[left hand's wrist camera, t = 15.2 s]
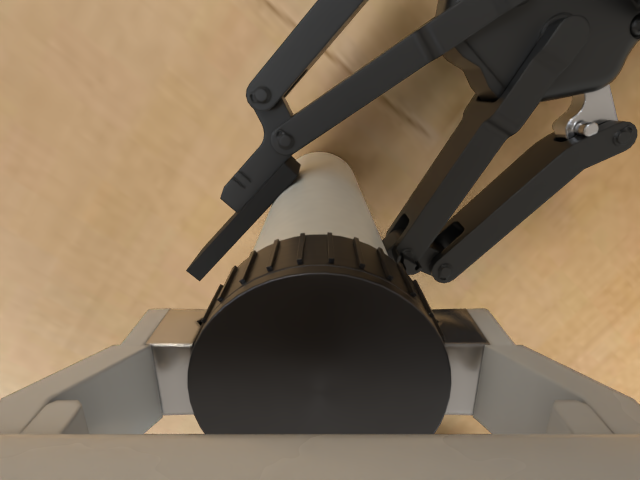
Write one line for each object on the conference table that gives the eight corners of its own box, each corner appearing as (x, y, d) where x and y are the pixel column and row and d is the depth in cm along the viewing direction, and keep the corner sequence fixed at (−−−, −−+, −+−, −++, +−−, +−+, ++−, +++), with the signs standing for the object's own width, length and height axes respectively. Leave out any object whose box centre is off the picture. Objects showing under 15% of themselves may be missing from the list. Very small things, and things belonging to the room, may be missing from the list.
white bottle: (286, 146, 24) (216, 263, 8) (363, 157, 24) (451, 291, 8) (278, 220, 26) (206, 446, 9) (350, 229, 26) (403, 466, 10)
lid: (166, 291, 10) (127, 343, 8) (372, 189, 9) (388, 218, 7) (277, 446, 11) (268, 521, 9) (460, 372, 10) (493, 438, 8)
